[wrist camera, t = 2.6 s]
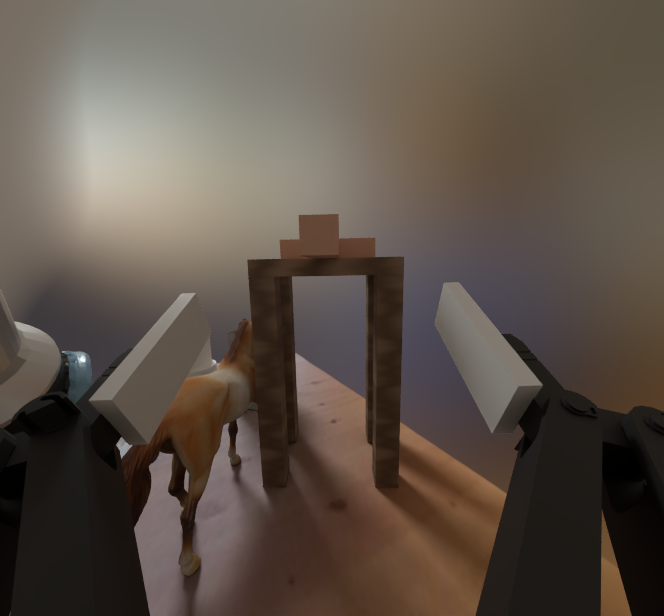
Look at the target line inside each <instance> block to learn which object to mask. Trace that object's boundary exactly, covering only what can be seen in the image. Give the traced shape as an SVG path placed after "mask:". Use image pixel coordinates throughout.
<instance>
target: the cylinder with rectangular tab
mask: <svg viewBox="0 0 664 616" xmlns="http://www.w3.org/2000/svg"><path fill="white" fill-rule="evenodd" d="M216 370H217V367H216V362H215V360H212V358H211V347H210V337H209V338H208V340H207V342H206V343H205V345H204V347H203V349H202V351H201V352H200V354H199V356H198V358H197V359H196V361H195V363H194V365H193V366H192V368H191V370H190V372H189V374H188V375H187V377H186V379H187V378H191V377H196V376H202V375H207V374H210V373H212V372H214V371H216Z"/></svg>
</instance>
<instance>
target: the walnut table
mask: <svg viewBox="0 0 664 616" xmlns="http://www.w3.org/2000/svg"><path fill="white" fill-rule="evenodd" d="M247 261H248V276H249V289H250V304H251V319H252V333H253V348H254V362H255V377H256V391H257V406H258V420H259V435H260V449H261V464H262V478H263V487H286V483H287V478H288V474H289V452H288V443H296V439H297V435H298V411H297V388H296V364H295V342H294V318H293V294H292V276H337V275H338V276H341V275H366V436H367V441H368V442H373V464H372V470H373V476H374V482H375V487H398V474H399V435H400V394H401V356H402V355H401V354H402V315H403V277H404V276H403V275H404V257H365V258H312V259H263V260H262V259H260V260H247Z"/></svg>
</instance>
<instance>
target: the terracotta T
mask: <svg viewBox="0 0 664 616" xmlns="http://www.w3.org/2000/svg"><path fill="white" fill-rule="evenodd" d="M338 225H339V223H338V214H329V215H299V234H300V239H299V240H280V250H281V251H280V252H281V259H312V258H365V257H375V238H349V239H339V226H338Z"/></svg>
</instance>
